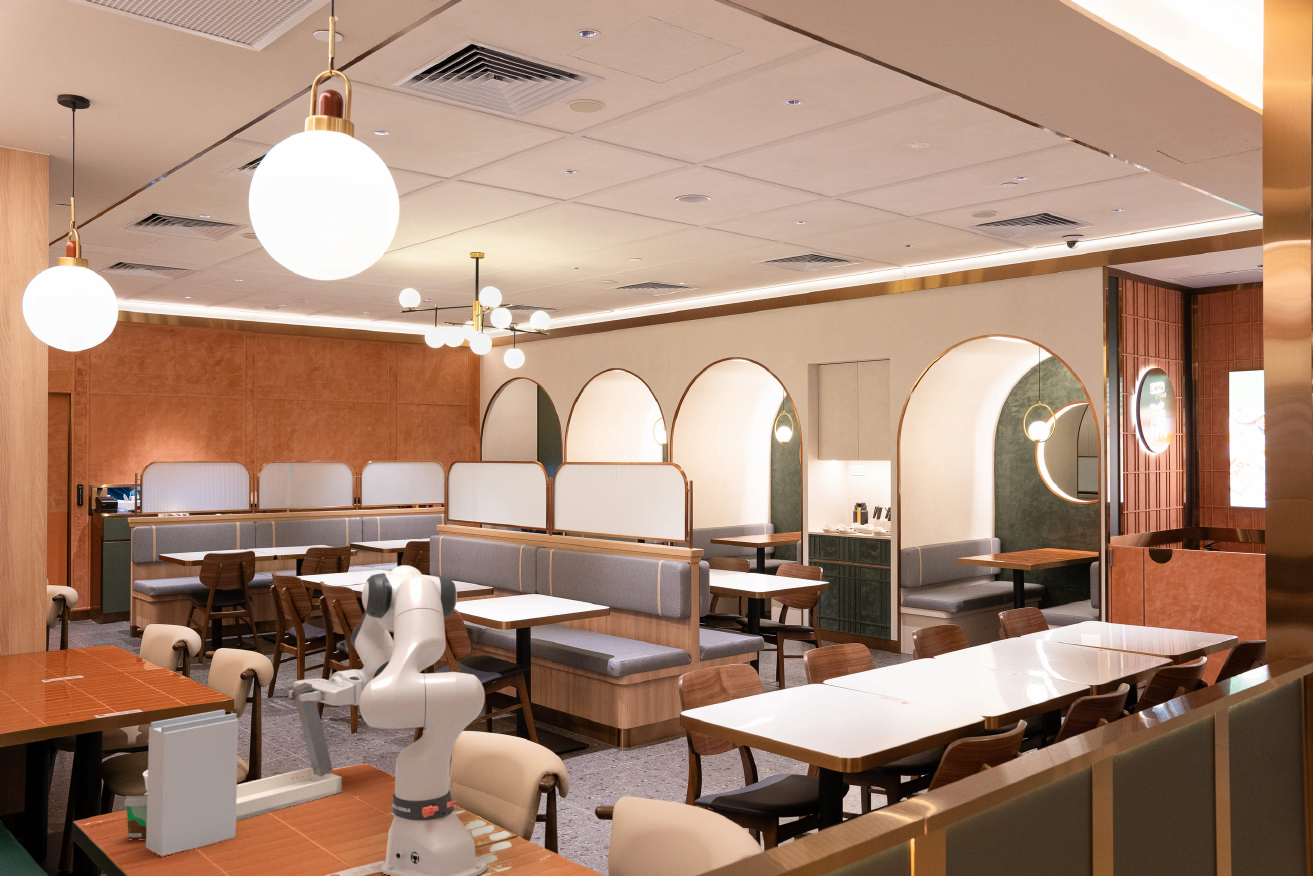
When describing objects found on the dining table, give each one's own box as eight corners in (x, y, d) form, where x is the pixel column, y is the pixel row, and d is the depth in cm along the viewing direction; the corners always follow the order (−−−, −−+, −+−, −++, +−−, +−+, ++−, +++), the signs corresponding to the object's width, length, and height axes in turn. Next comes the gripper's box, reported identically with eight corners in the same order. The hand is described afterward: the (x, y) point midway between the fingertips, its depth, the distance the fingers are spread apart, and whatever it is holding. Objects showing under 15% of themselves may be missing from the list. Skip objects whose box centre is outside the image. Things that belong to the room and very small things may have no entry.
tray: (341, 793, 249) (341, 777, 249) (221, 825, 225) (221, 807, 226) (312, 782, 258) (313, 766, 258) (194, 811, 234) (195, 794, 235)
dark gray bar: (311, 684, 249) (299, 690, 246) (332, 770, 253) (320, 776, 250) (304, 682, 251) (292, 688, 249) (325, 767, 255) (313, 774, 253)
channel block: (235, 837, 218) (238, 714, 219) (161, 857, 206) (164, 728, 207) (219, 828, 223) (221, 709, 224) (145, 848, 211) (149, 721, 212)
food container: (144, 846, 212) (145, 799, 213) (122, 842, 214) (124, 796, 215) (188, 827, 224) (189, 783, 224) (167, 824, 226) (168, 780, 226)
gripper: (323, 670, 265) (275, 678, 254) (365, 681, 251) (316, 689, 241) (322, 694, 265) (274, 702, 254) (364, 705, 251) (315, 715, 241)
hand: (295, 696), depth 247 cm, fingers closed on dark gray bar, 3 cm apart
